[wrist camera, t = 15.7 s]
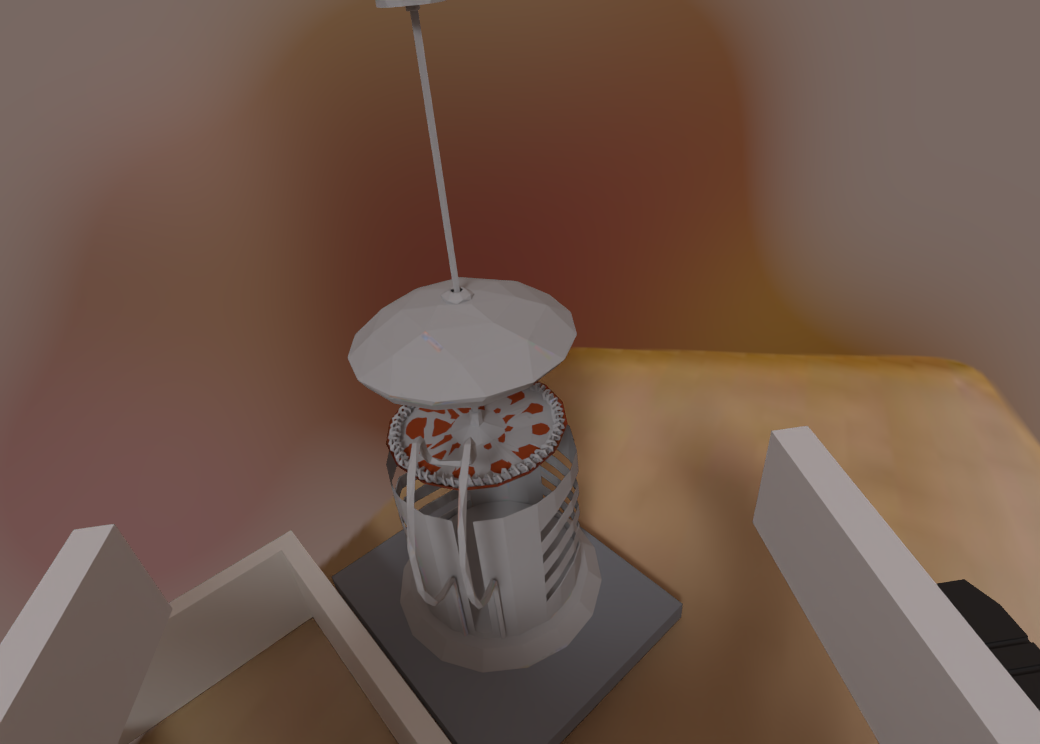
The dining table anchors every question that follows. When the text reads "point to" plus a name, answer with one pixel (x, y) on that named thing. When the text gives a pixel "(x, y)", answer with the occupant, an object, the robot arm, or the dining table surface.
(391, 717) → the white open storage bin
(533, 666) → the rubber mat
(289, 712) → the dining table surface
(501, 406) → the french press
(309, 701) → the dining table surface
